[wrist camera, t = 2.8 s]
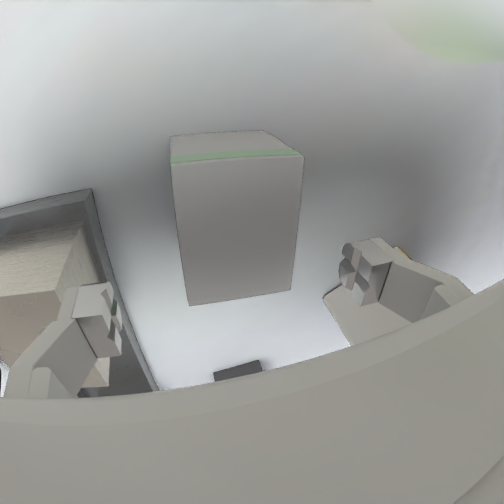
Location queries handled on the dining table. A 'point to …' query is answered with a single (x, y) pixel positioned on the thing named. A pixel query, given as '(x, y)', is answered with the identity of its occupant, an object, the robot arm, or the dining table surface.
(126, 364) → the rail
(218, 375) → the block
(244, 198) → the block
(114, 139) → the dining table surface
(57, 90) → the dining table surface
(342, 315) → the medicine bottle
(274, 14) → the dining table surface
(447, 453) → the robot arm
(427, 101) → the dining table surface
